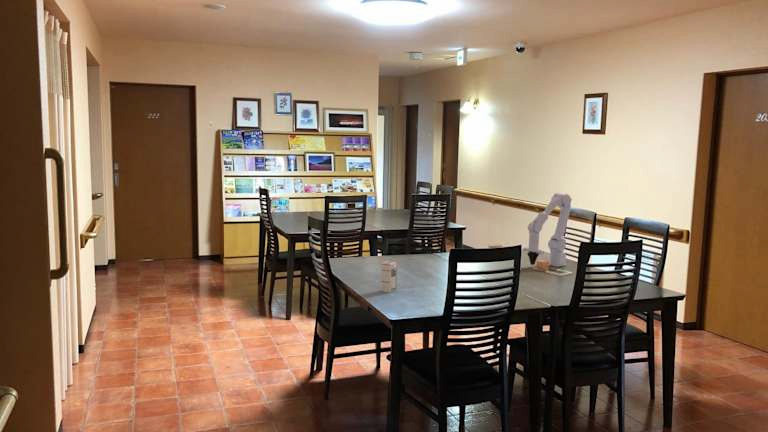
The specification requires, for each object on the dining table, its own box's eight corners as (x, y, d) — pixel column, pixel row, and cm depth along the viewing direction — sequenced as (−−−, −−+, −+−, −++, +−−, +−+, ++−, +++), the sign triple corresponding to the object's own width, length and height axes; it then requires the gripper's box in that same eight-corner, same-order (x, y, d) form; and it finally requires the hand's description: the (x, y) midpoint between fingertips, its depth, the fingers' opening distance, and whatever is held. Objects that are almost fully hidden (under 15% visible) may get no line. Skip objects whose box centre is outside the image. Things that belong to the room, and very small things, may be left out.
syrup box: (390, 292, 305) (391, 263, 303) (380, 291, 308) (380, 261, 306) (396, 290, 310) (397, 261, 308) (386, 288, 313) (387, 260, 311)
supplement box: (501, 265, 379) (502, 244, 378) (501, 267, 374) (503, 245, 373) (487, 265, 380) (488, 243, 378) (487, 266, 375) (489, 245, 374)
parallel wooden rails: (541, 267, 377) (542, 264, 377) (556, 270, 368) (556, 268, 368) (532, 268, 372) (532, 266, 372) (547, 272, 364) (547, 269, 363)
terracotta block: (542, 268, 375) (542, 260, 374) (548, 270, 371) (549, 261, 370) (536, 269, 372) (536, 260, 372) (542, 270, 368) (543, 262, 368)
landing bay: (558, 270, 369) (558, 269, 369) (572, 274, 361) (572, 272, 360) (545, 272, 363) (545, 270, 363) (560, 276, 354) (560, 274, 354)
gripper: (520, 240, 380) (518, 262, 381) (538, 244, 368) (537, 267, 370) (528, 240, 384) (526, 261, 385) (546, 243, 372) (545, 266, 374)
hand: (532, 264), depth 378 cm, fingers closed
